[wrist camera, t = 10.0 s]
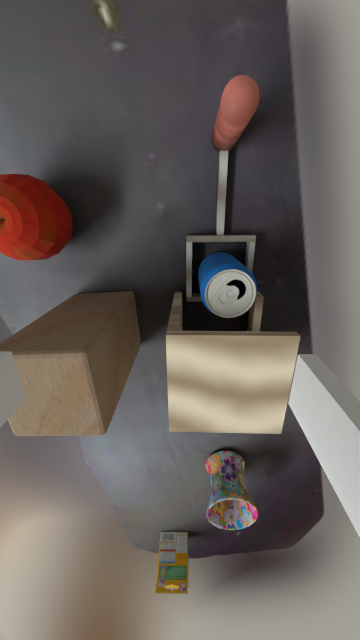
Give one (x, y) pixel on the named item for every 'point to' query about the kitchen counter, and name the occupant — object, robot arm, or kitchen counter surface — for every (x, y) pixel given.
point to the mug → (229, 492)
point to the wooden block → (75, 364)
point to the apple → (32, 218)
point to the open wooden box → (228, 376)
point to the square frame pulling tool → (228, 128)
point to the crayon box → (173, 563)
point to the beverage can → (226, 285)
